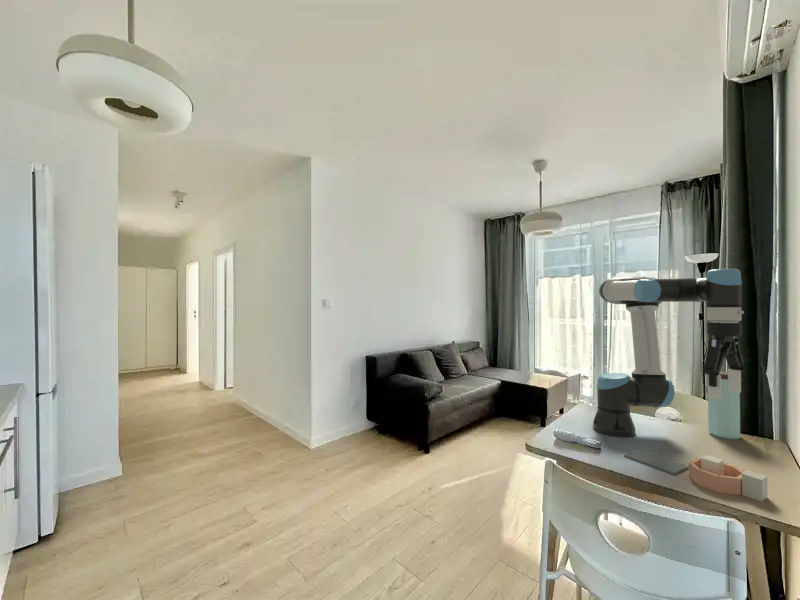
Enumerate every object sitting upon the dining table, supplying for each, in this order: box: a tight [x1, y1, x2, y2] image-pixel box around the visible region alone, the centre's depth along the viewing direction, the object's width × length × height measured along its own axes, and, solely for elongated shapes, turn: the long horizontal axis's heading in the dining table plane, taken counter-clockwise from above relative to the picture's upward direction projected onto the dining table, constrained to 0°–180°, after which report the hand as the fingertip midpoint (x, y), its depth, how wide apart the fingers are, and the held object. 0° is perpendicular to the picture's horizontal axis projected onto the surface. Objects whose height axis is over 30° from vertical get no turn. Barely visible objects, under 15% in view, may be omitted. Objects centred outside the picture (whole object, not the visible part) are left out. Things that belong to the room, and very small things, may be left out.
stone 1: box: [700, 454, 725, 476], centre depth 105 cm, size 4×4×6 cm
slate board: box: [623, 448, 689, 476], centre depth 118 cm, size 15×9×1 cm, turn 29°
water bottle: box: [707, 371, 741, 440], centre depth 140 cm, size 10×10×25 cm
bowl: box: [688, 458, 745, 496], centre depth 105 cm, size 12×12×4 cm
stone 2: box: [741, 470, 768, 503], centre depth 97 cm, size 4×4×6 cm
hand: (724, 394), depth 103 cm, fingers open, 13 cm apart
